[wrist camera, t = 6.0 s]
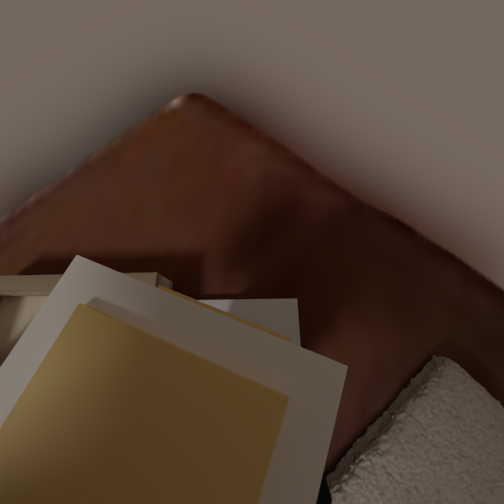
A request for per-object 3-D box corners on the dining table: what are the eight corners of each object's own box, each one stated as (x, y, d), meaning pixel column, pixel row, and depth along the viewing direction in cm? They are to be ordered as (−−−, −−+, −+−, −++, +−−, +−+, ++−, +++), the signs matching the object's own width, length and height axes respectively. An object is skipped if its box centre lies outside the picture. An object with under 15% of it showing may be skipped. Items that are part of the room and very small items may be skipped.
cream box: (254, 435, 13) (196, 1044, 2) (176, 397, 14) (-201, 643, 3) (284, 343, 15) (354, 356, 3) (212, 314, 16) (75, 244, 4)
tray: (147, 519, 14) (117, 566, 11) (-80, 514, 14) (-164, 557, 11) (173, 282, 19) (156, 272, 16) (3, 285, 19) (-42, 276, 16)
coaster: (306, 447, 14) (308, 451, 14) (163, 445, 15) (159, 450, 14) (295, 299, 18) (297, 298, 17) (177, 301, 18) (174, 300, 17)
